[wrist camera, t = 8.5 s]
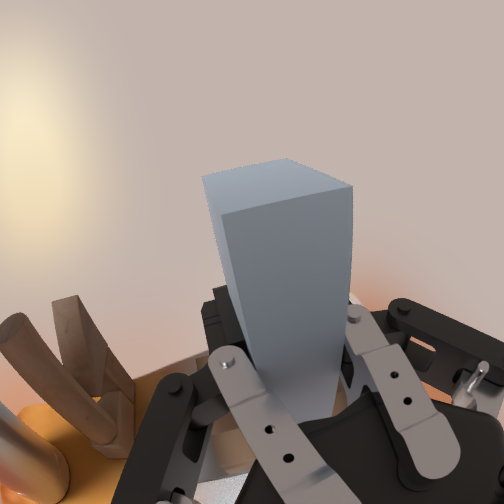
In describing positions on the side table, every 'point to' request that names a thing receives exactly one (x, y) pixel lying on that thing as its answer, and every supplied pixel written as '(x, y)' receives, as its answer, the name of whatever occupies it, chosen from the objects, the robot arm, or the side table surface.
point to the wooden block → (75, 375)
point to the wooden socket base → (238, 442)
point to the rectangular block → (287, 274)
